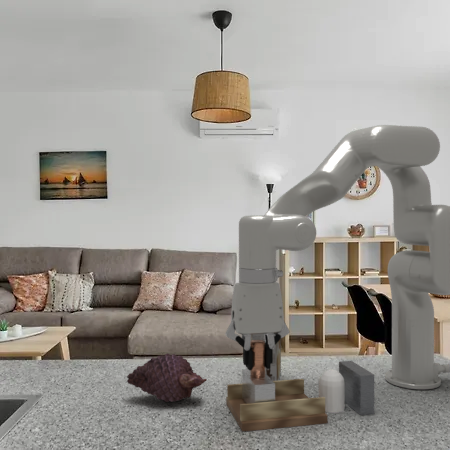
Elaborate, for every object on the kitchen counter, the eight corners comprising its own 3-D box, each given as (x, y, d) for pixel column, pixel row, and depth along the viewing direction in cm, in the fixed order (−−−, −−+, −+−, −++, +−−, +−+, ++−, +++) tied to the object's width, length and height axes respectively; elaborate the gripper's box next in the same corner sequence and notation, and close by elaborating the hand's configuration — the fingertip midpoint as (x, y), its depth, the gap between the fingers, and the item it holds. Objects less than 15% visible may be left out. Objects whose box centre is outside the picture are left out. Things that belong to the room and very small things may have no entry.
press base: (301, 397, 110) (301, 377, 110) (327, 423, 96) (327, 400, 96) (226, 403, 106) (226, 382, 106) (242, 431, 92) (242, 407, 92)
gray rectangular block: (351, 396, 110) (351, 360, 110) (374, 414, 100) (374, 374, 100) (338, 397, 109) (338, 361, 109) (360, 415, 100) (360, 375, 99)
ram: (260, 396, 106) (260, 335, 105) (275, 414, 96) (274, 347, 96) (242, 397, 105) (242, 336, 104) (255, 416, 95) (254, 348, 95)
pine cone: (121, 407, 104) (120, 360, 104) (134, 391, 114) (133, 347, 114) (204, 410, 103) (204, 362, 102) (210, 393, 112) (210, 349, 112)
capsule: (318, 402, 107) (317, 365, 107) (343, 403, 106) (343, 366, 106) (319, 412, 101) (319, 373, 101) (345, 413, 101) (345, 374, 100)
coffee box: (256, 373, 127) (256, 310, 126) (281, 374, 125) (281, 311, 125) (250, 385, 118) (250, 317, 117) (277, 387, 116) (277, 318, 116)
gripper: (289, 273, 105) (290, 359, 105) (214, 275, 102) (214, 364, 102) (302, 277, 98) (302, 370, 98) (221, 280, 94) (221, 376, 95)
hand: (257, 366), depth 100 cm, fingers closed on ram, 3 cm apart
